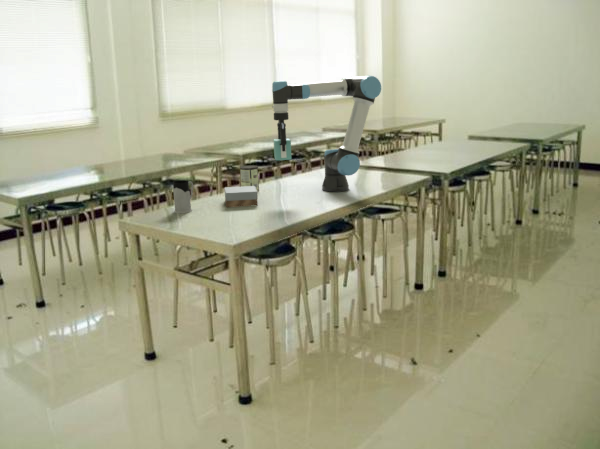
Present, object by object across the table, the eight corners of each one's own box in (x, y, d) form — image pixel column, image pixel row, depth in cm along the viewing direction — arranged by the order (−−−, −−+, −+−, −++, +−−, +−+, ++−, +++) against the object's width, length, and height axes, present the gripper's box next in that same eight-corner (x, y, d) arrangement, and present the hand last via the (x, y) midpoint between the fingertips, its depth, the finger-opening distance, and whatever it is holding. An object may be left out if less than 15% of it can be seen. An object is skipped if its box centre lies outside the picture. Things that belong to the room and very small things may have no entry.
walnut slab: (255, 200, 318) (254, 193, 317) (257, 206, 303) (257, 199, 302) (225, 202, 316) (224, 194, 315) (226, 208, 301) (225, 200, 300)
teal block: (289, 157, 312) (288, 138, 309) (291, 159, 304) (290, 140, 301) (274, 158, 311) (273, 139, 308) (276, 160, 303) (275, 141, 300)
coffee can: (245, 188, 348) (244, 165, 344) (261, 189, 344) (260, 165, 341) (238, 192, 338) (237, 167, 335) (254, 192, 335) (253, 168, 331)
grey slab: (255, 193, 317) (254, 185, 316) (257, 199, 302) (257, 191, 301) (225, 194, 315) (224, 187, 314) (226, 200, 299) (225, 193, 298)
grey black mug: (170, 212, 292) (168, 182, 289) (187, 206, 305) (184, 177, 301) (185, 213, 289) (183, 183, 285) (201, 207, 302) (199, 178, 298)
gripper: (271, 111, 311) (273, 154, 316) (275, 113, 291) (277, 159, 296) (285, 110, 312) (287, 153, 317) (290, 113, 292) (292, 158, 297)
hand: (282, 156), depth 307 cm, fingers closed on teal block, 8 cm apart
